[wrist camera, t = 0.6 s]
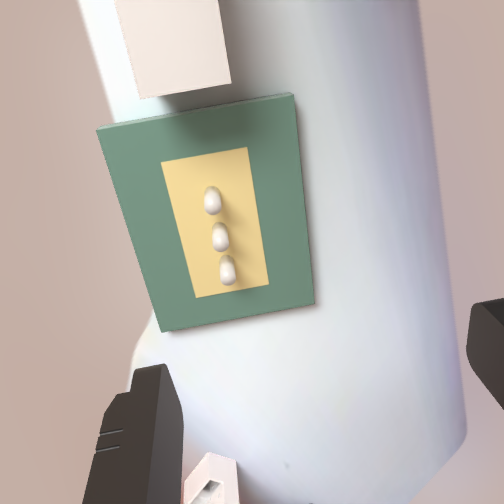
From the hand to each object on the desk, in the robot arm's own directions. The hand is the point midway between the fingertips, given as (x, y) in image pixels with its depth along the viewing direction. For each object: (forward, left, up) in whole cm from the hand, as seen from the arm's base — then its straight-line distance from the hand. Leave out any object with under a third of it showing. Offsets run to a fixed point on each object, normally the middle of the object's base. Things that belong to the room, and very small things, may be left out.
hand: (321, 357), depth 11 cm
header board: (+6, -3, -24) cm, 25 cm away
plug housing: (-10, -3, -24) cm, 26 cm away
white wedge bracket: (+37, -10, -24) cm, 45 cm away
